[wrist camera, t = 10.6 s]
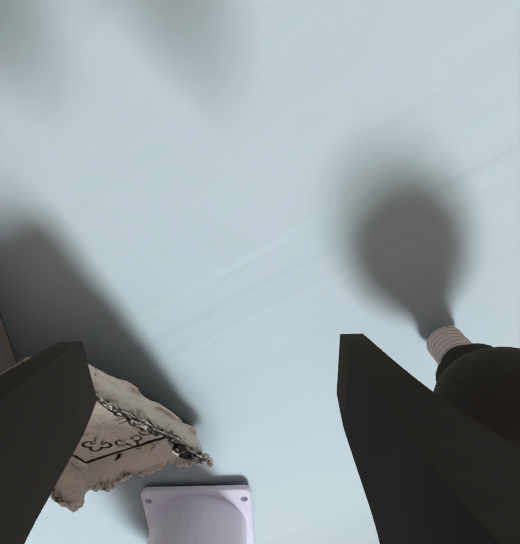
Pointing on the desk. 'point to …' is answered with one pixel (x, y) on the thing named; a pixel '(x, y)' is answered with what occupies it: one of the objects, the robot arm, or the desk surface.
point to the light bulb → (478, 380)
